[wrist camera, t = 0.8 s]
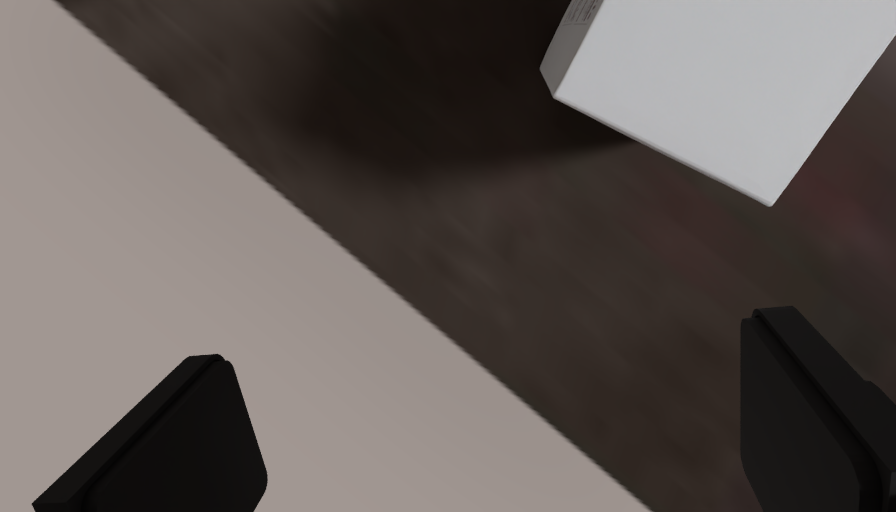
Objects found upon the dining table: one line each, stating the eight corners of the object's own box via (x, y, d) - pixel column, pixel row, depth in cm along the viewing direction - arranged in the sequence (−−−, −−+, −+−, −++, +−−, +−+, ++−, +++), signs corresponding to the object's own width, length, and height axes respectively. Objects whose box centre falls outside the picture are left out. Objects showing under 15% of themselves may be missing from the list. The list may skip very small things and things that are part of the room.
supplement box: (534, 70, 37) (538, 96, 21) (612, -85, 33) (685, -193, 18) (672, 140, 37) (776, 216, 21) (763, -7, 34) (965, -45, 18)
